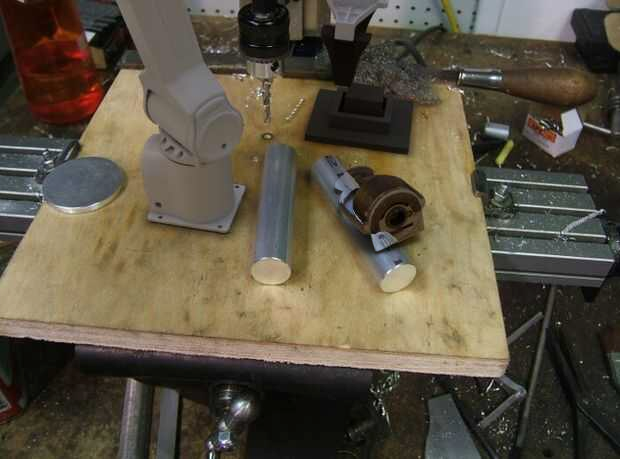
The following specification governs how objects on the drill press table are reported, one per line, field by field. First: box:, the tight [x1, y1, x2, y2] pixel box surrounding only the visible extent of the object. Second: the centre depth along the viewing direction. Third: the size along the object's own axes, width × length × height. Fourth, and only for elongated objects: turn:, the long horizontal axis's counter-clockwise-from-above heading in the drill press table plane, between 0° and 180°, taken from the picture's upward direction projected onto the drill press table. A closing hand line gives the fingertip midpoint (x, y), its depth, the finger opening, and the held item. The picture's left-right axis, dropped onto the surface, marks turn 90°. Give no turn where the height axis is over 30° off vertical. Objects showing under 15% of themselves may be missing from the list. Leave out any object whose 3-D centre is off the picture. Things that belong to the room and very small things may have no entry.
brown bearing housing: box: [338, 165, 426, 243], centre depth 63 cm, size 7×13×10 cm
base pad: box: [304, 86, 414, 155], centre depth 78 cm, size 14×12×3 cm
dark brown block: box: [344, 81, 386, 117], centre depth 77 cm, size 5×4×4 cm
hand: (346, 69), depth 70 cm, fingers open, 7 cm apart
